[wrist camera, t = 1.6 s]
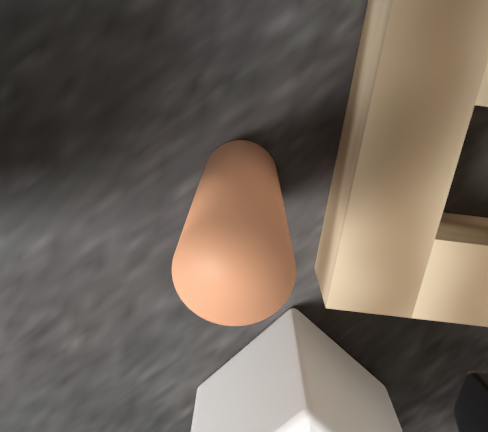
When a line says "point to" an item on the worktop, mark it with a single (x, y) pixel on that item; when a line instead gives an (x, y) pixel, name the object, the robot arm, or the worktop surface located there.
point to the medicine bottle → (293, 386)
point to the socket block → (408, 168)
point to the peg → (236, 240)
